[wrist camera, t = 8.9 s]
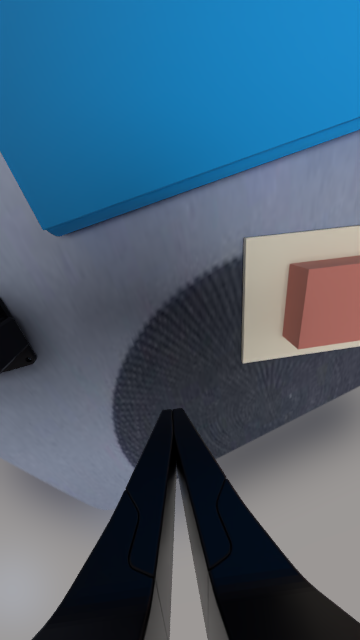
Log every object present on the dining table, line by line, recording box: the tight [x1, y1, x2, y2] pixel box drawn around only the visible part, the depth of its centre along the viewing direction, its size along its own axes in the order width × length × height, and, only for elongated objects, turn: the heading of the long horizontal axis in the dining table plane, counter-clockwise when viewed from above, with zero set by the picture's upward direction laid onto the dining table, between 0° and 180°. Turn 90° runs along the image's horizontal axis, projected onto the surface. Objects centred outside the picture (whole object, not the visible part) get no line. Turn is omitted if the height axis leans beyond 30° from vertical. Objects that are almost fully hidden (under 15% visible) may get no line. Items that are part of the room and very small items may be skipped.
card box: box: [282, 255, 360, 349], centre depth 20 cm, size 3×7×9 cm
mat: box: [241, 225, 360, 363], centre depth 21 cm, size 16×12×1 cm
